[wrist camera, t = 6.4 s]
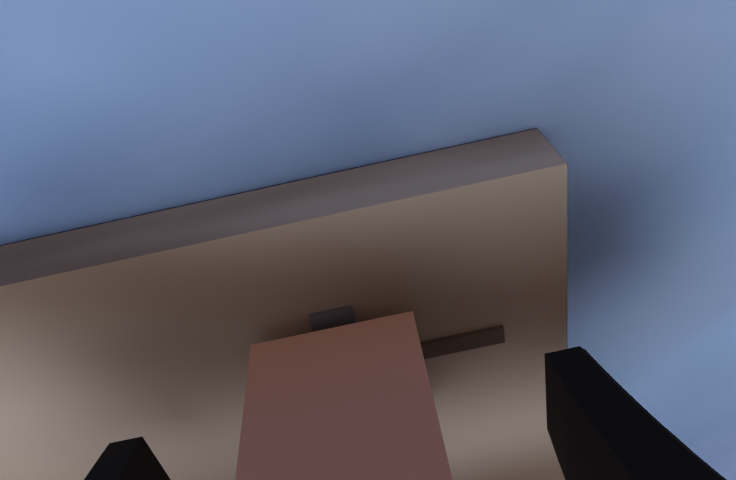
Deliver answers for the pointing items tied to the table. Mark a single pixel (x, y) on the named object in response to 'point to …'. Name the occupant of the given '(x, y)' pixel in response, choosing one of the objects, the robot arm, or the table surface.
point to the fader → (342, 407)
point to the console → (292, 310)
